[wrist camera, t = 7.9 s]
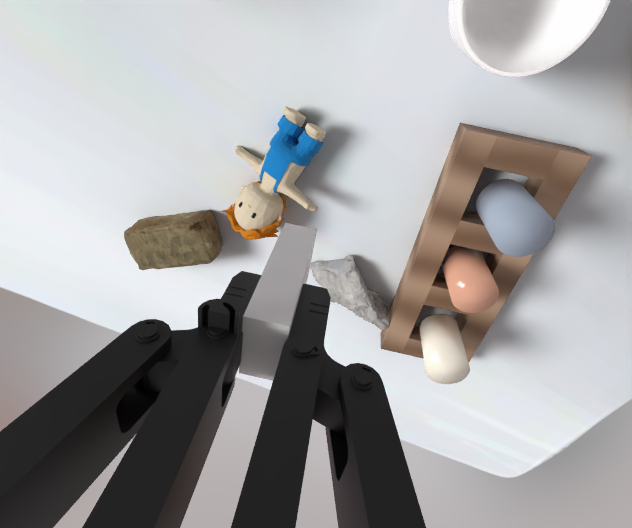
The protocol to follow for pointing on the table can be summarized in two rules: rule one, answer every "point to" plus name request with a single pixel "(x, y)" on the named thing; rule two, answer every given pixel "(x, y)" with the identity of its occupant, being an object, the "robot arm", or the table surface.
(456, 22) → the mug
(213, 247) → the stone block
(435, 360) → the white rounded cylinder
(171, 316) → the table surface
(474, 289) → the cap terracotta
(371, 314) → the stone
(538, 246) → the cap slate
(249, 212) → the toy
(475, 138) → the wooden compartment tray
